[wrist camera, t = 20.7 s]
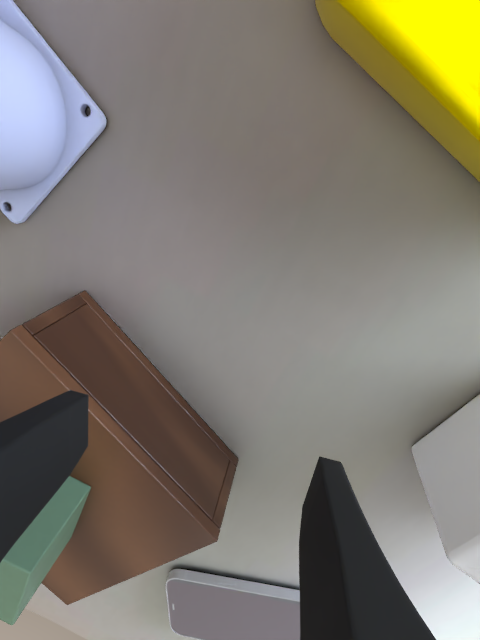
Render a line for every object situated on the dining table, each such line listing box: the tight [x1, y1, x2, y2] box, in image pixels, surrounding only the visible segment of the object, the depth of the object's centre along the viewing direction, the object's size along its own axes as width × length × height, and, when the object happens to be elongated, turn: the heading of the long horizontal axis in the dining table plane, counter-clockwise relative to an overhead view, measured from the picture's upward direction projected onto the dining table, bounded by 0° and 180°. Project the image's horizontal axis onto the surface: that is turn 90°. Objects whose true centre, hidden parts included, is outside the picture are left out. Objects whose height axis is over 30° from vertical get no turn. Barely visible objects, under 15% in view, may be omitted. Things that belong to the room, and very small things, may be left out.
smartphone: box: [165, 569, 300, 640], centre depth 30 cm, size 7×1×15 cm
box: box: [22, 291, 238, 529], centre depth 23 cm, size 12×14×5 cm
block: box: [0, 476, 91, 625], centre depth 18 cm, size 5×5×5 cm
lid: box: [0, 325, 220, 605], centre depth 21 cm, size 13×14×1 cm
